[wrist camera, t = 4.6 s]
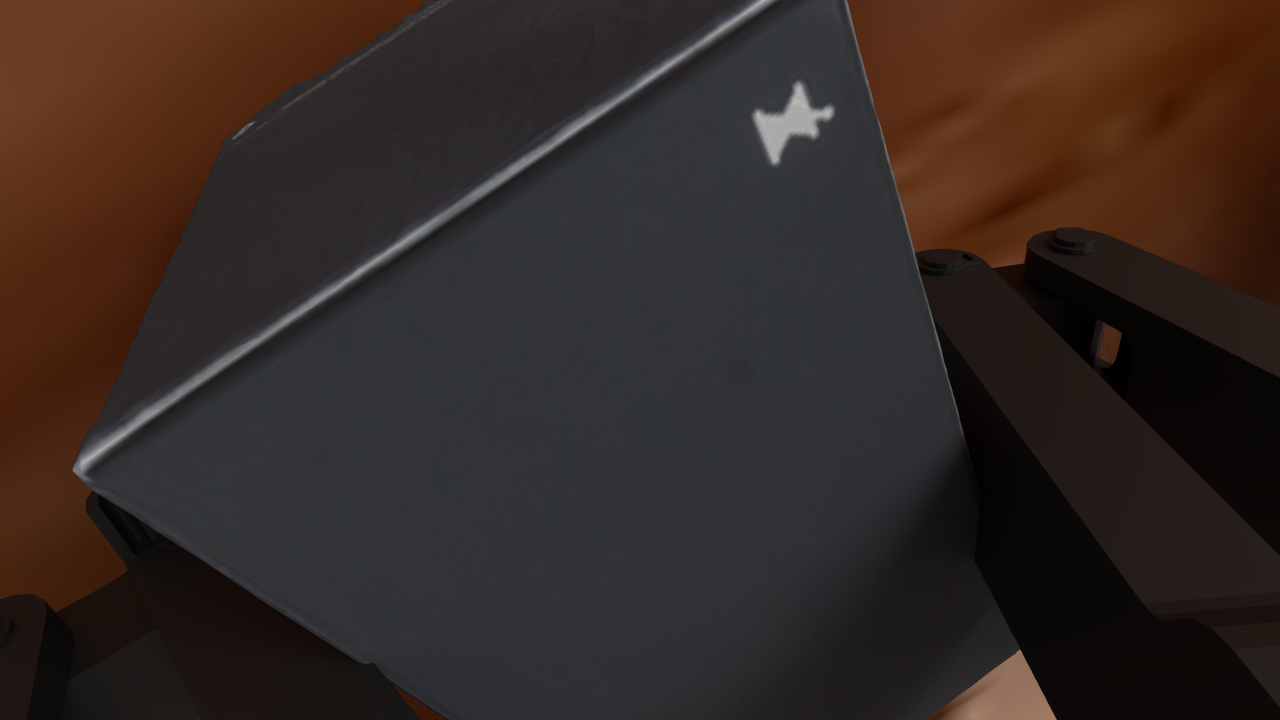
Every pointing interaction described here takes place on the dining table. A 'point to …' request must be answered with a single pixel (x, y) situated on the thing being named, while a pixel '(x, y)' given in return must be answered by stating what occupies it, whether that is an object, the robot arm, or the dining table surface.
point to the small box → (571, 374)
